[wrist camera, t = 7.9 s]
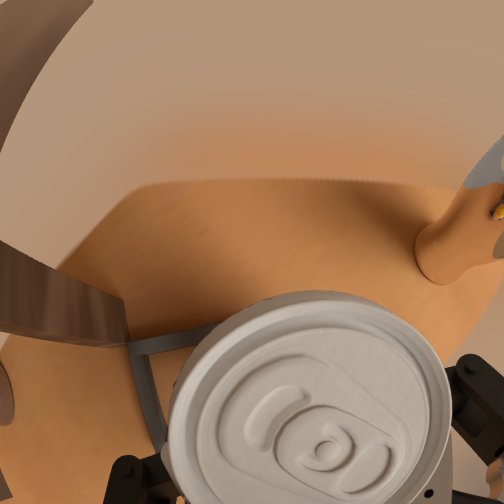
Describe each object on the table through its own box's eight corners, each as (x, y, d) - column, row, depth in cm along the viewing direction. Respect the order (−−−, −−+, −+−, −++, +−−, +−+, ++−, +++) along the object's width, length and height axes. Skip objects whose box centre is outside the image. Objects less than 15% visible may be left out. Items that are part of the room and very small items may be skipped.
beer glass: (426, 209, 24) (507, 108, 10) (472, 251, 22) (567, 178, 8) (398, 258, 23) (502, 158, 9) (448, 304, 21) (571, 248, 7)
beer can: (274, 316, 19) (284, 212, 5) (343, 364, 18) (503, 373, 4) (220, 383, 18) (93, 451, 4) (291, 432, 16) (331, 582, 2)
